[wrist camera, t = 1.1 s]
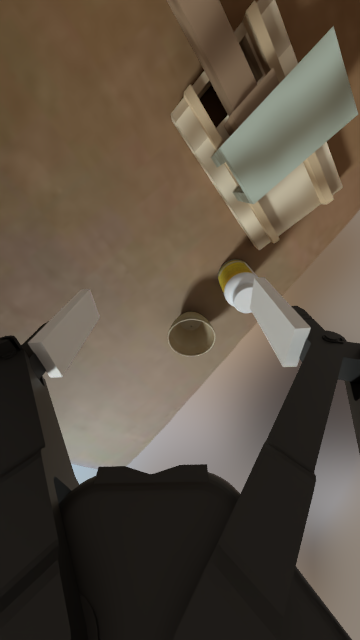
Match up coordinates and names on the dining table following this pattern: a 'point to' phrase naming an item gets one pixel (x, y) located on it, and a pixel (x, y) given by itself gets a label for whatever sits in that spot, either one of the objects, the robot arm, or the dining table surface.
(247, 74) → the tan wooden bar
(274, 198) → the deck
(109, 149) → the dining table surface
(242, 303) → the pill bottle
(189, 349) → the flower pot
